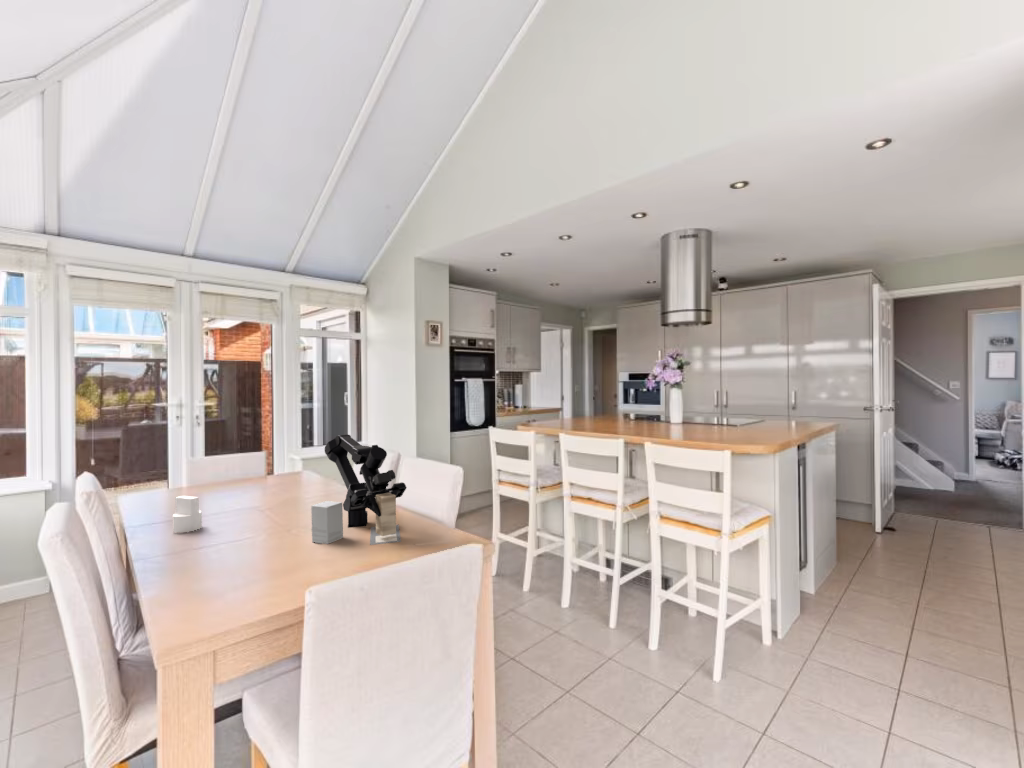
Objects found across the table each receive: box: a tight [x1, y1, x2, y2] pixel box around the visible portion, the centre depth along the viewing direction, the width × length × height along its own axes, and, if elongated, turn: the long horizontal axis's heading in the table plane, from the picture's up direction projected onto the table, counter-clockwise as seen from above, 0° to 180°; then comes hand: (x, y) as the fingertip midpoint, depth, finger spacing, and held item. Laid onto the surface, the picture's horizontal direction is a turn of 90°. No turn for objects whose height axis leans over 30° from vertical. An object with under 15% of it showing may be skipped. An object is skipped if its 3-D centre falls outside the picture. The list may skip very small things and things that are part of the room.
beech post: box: [375, 493, 397, 536], centre depth 163 cm, size 5×5×13 cm
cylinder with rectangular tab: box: [172, 495, 203, 533], centre depth 179 cm, size 9×9×12 cm
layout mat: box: [369, 524, 402, 546], centre depth 168 cm, size 10×20×1 cm, turn 16°
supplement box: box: [310, 500, 344, 545], centre depth 164 cm, size 7×7×13 cm
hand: (387, 514), depth 162 cm, fingers closed on beech post, 5 cm apart
